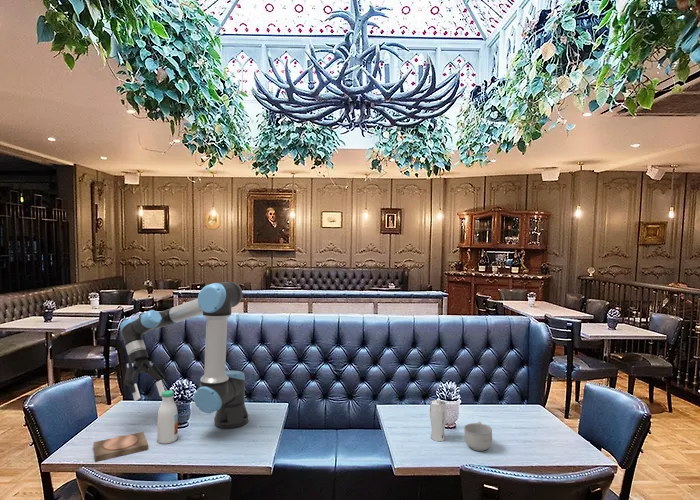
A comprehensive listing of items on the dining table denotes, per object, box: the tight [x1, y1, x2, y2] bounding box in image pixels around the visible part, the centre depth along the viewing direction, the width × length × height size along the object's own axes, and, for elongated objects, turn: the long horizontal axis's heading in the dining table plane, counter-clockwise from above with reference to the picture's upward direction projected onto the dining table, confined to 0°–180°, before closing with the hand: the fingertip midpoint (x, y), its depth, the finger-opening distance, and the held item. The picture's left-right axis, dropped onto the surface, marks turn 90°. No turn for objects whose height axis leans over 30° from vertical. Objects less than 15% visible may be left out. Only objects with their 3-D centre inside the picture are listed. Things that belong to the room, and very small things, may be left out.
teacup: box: [463, 421, 493, 452], centre depth 173 cm, size 14×11×8 cm
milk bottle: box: [156, 389, 179, 445], centre depth 176 cm, size 8×8×20 cm
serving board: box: [93, 431, 149, 463], centre depth 169 cm, size 18×14×3 cm
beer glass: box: [429, 399, 448, 442], centre depth 179 cm, size 7×7×15 cm
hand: (150, 397), depth 184 cm, fingers open, 13 cm apart
